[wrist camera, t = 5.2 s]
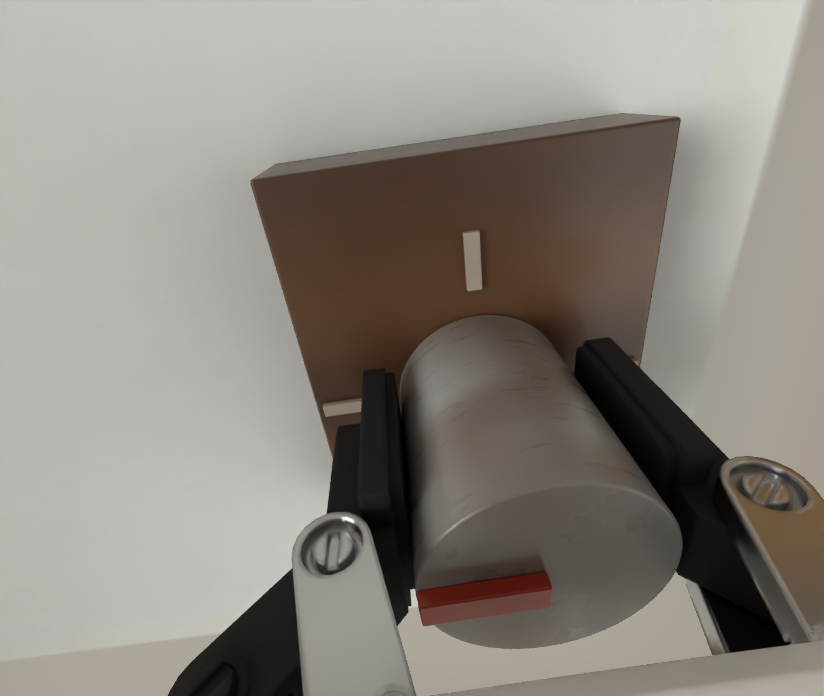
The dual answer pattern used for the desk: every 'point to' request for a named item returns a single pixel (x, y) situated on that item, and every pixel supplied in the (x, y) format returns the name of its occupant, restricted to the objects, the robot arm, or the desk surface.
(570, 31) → the desk surface
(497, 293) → the panel
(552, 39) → the desk surface
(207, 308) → the desk surface
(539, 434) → the knob
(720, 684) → the robot arm
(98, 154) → the desk surface
